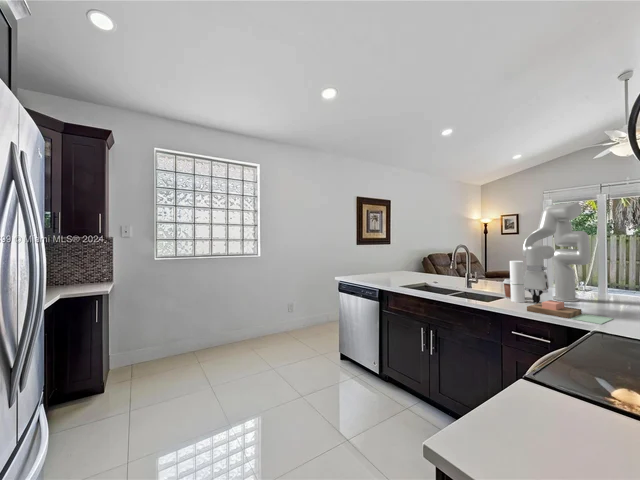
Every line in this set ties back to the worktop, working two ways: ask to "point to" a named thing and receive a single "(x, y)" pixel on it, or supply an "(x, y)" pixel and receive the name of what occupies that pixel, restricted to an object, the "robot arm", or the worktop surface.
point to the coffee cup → (507, 288)
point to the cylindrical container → (517, 281)
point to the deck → (555, 311)
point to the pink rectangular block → (553, 305)
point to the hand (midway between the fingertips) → (536, 302)
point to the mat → (592, 318)
